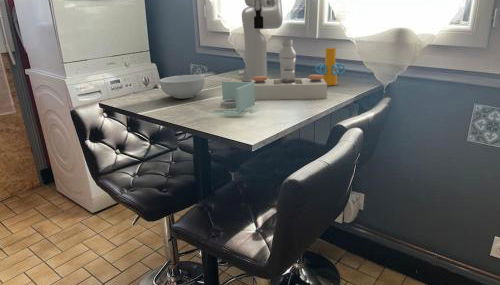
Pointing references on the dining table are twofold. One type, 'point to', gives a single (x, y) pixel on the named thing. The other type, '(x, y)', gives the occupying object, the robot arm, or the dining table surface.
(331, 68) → the orange post blue wheels
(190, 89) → the cereal bowl
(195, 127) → the dining table surface
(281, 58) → the gray metal bottle
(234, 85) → the right angle wall
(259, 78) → the chicken egg
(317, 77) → the brown egg
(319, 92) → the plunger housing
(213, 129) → the dining table surface
